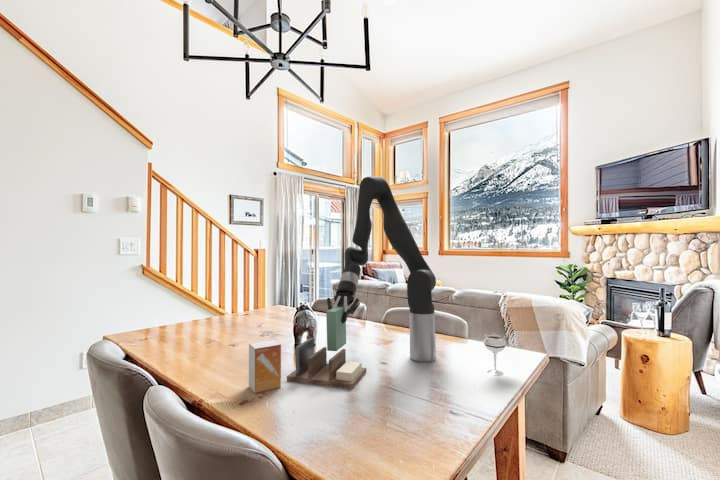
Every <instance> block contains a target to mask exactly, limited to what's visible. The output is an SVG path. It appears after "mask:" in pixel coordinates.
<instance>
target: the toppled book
mask: <svg viewBox="0 0 720 480" xmlns="http://www.w3.org/2000/svg"><path fill="white" fill-rule="evenodd" d="M362 365H363V363H362V362H361V361H351V360H347V361H346V363H345V364H344V365H343V366H342V367H341V368H339V369H338V370H337V371H336V379H337V380H346V381H352V380H353V379H354V378H355V377H356V376H357V375H358V373H359V372H360V371H361V370H362V368H363V367H362Z"/></svg>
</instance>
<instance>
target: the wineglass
mask: <svg viewBox="0 0 720 480" xmlns="http://www.w3.org/2000/svg"><path fill="white" fill-rule="evenodd" d="M483 336H484V340H483V344H484V347H486V349H487V350H488V351H490V352H492V353H493V361H494V366H493V367H494V369H489V370H487V372H486V373H488V374H489V375H493V376H503V375H504V372H502V371H500V370H497V354H498V353H500V352H502V351H503V350H504V349H505V348H506V347H507V346H506V345H507V341H506V340H505V339H506V336H505V335H504V334H499V333H485V334H484V335H483Z"/></svg>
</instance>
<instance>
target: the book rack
mask: <svg viewBox="0 0 720 480" xmlns="http://www.w3.org/2000/svg"><path fill="white" fill-rule="evenodd" d="M346 351H347V350H346V348H341V350H339V352H338V351H337V353H335V354H334V355H333V356H332V357H331V358H329V360H328V359H327V346H326V347H325V346H324V347H323V346H322V348H320V349H319V350H317V352H314V354H313V355H312V356H310V357H309V358H308V369H307V370H306V371H305V372H303V373H302V374H301V375H299V376H298V375H296V369H295V370H293V371H292V372H290V373H289V374H288V375H286V382H293V383H300V384H308V385H314V386H315V385H317V386H324V387H331V388H338V389H339V388H341V389H347V390H354V389H355V388H356V386H357V385H358V384H359V382H360V381H361V380H362V379H363V377H365V375H366V374H367V367H362V370H361V371H360V372H359V373H358V375H357V376H356V377H355V378H354V379H353V380H352V381H346V380H337V379H336V371H337V370H338V369H339V368H341V367H342V366H343V365H344V364H345V363H346V362H347V361H346V360H347V359H346V357H347V356H346ZM327 360H328V361H327ZM327 362H328V363H327Z"/></svg>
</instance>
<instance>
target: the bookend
mask: <svg viewBox="0 0 720 480" xmlns="http://www.w3.org/2000/svg"><path fill="white" fill-rule="evenodd" d="M313 354H315V338H314V337H310V338H309V339H307V340H305V341H303V342H301V343H300V344H298V345H297V346H295V370H296V375H298V376H299V375H301V374H302V373H303V372H305V371H306V370H307V369H308V358H309V357H310V356H312V355H313Z"/></svg>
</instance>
